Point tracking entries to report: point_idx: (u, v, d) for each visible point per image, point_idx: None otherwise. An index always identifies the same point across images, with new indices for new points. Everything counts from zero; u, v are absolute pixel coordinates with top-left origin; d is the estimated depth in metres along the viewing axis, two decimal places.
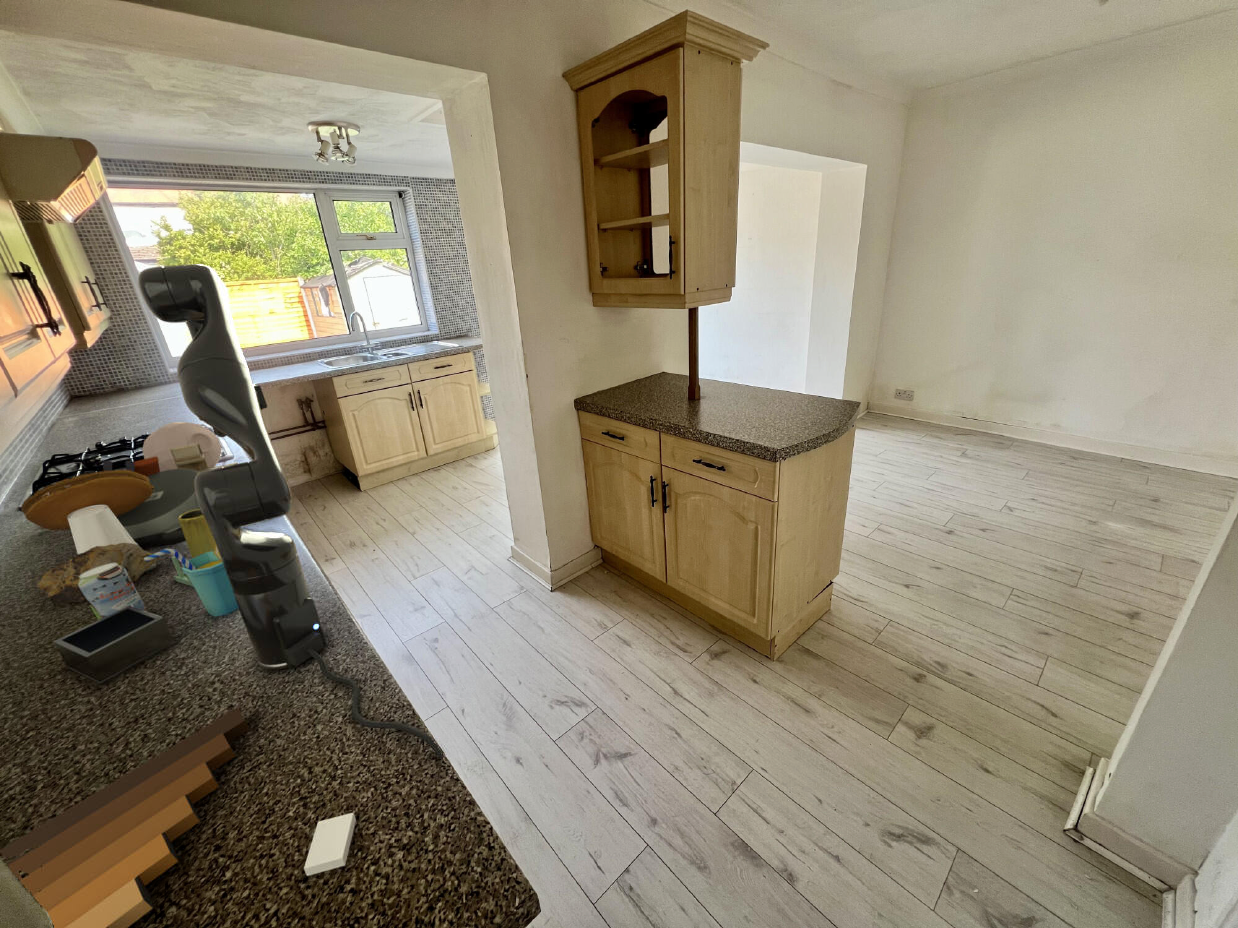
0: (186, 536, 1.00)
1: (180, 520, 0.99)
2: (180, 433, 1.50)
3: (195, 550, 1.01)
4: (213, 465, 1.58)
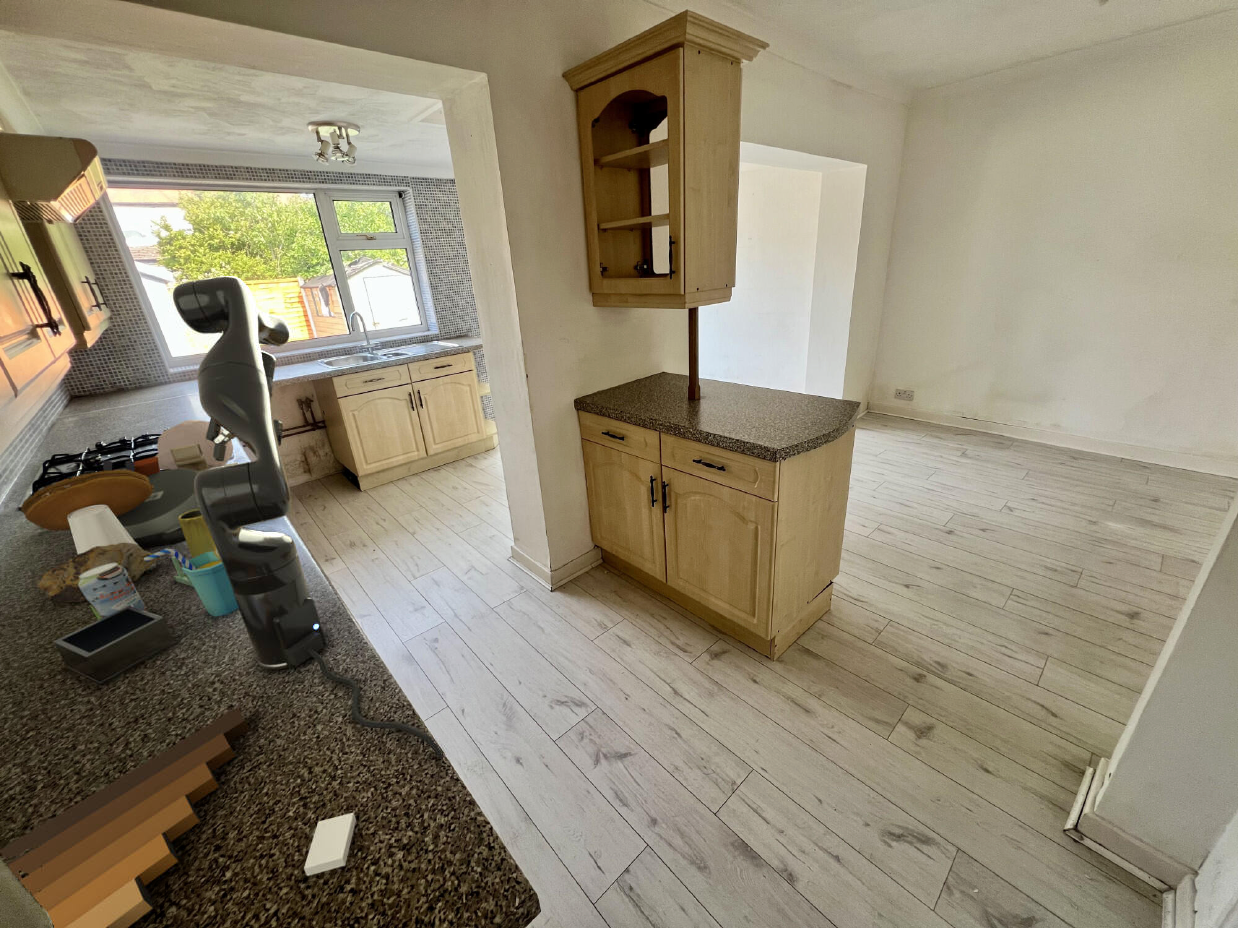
0: (186, 536, 1.00)
1: (180, 520, 0.99)
2: (201, 427, 1.56)
3: (195, 550, 1.01)
4: None
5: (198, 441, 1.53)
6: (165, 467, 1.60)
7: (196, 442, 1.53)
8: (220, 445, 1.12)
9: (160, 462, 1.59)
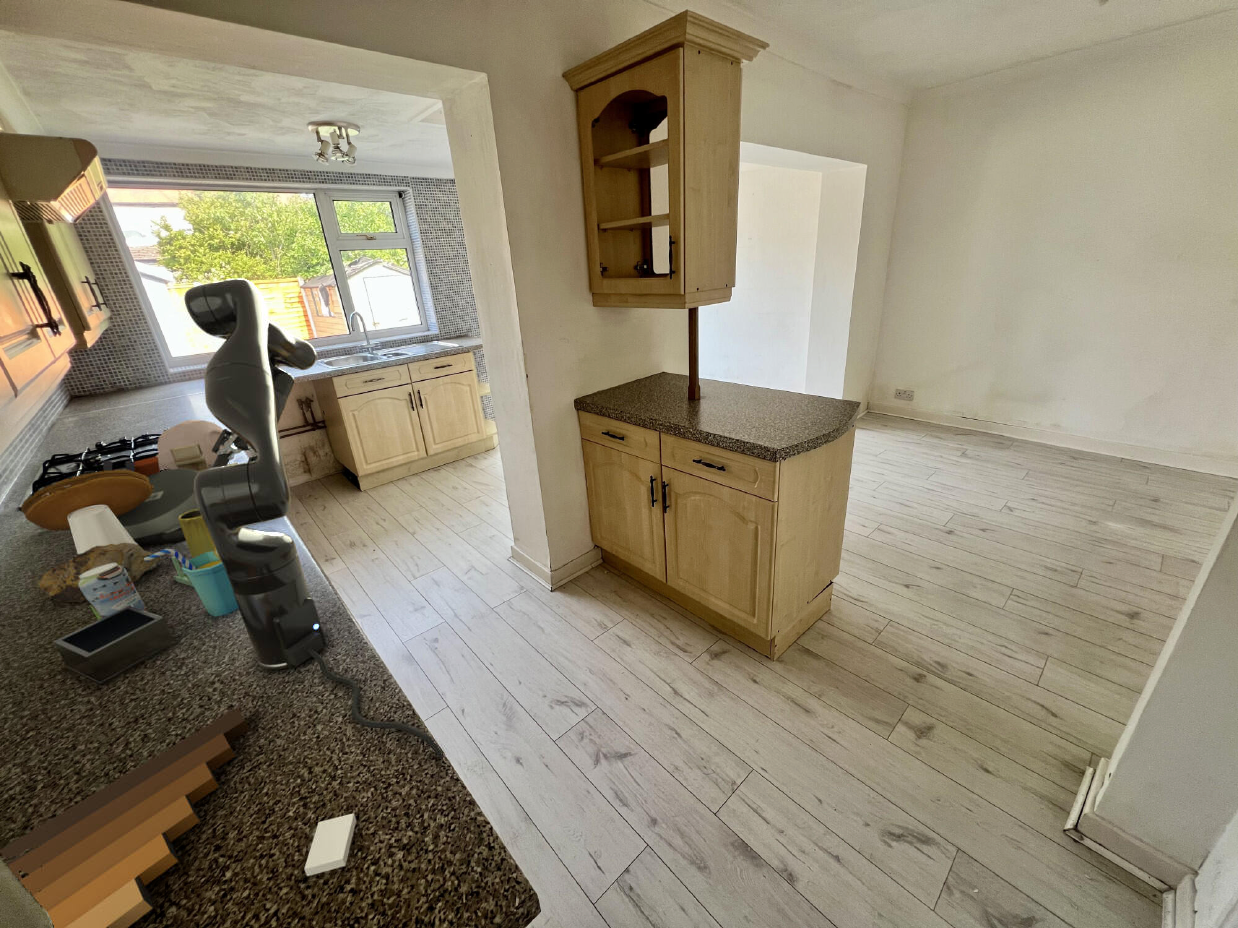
0: (186, 536, 1.00)
1: (180, 520, 0.99)
2: (202, 427, 1.56)
3: (195, 550, 1.01)
4: None
5: (198, 441, 1.53)
6: (165, 467, 1.60)
7: (196, 442, 1.53)
8: (220, 457, 1.10)
9: (160, 462, 1.59)
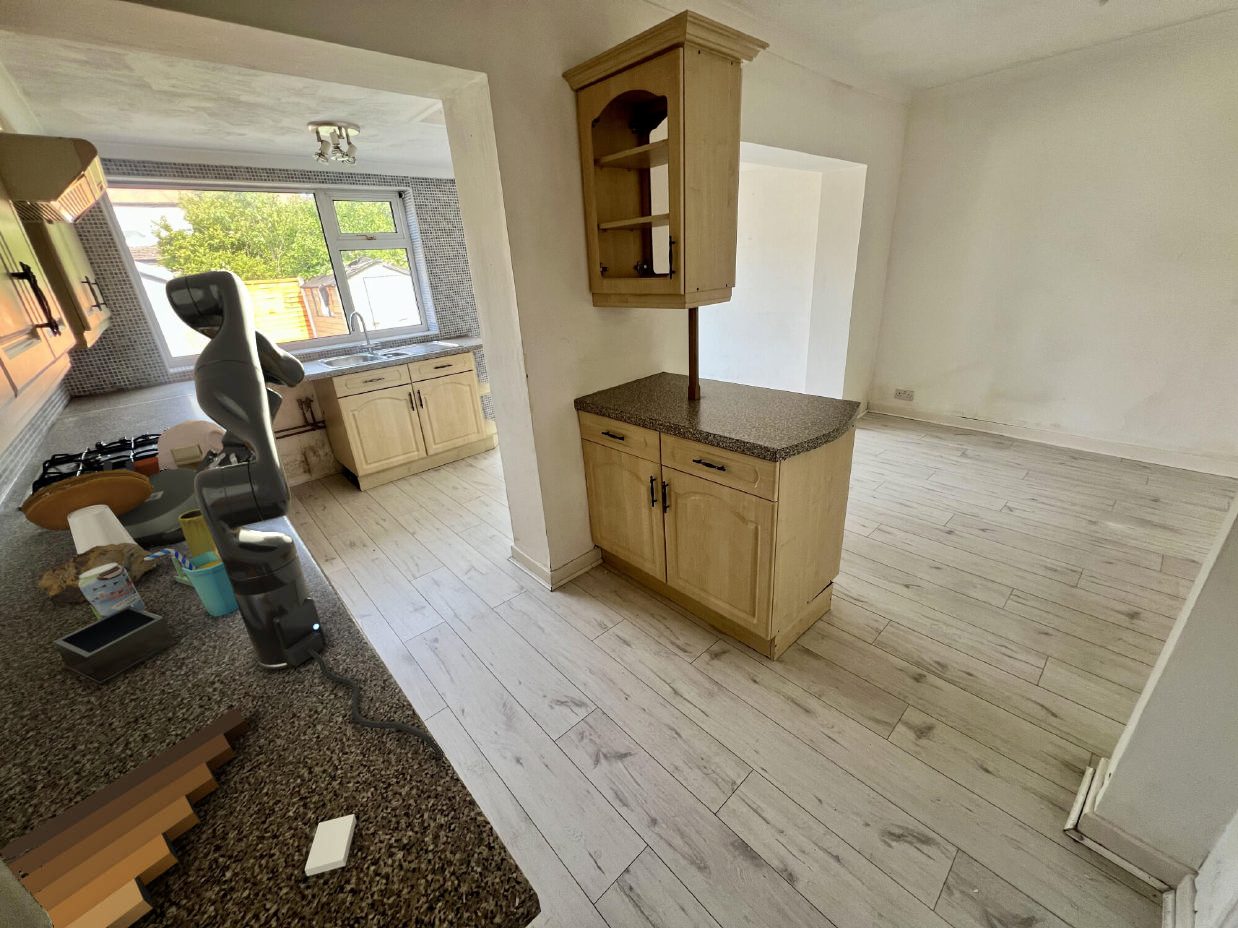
0: (186, 536, 1.00)
1: (180, 520, 0.99)
2: (202, 427, 1.56)
3: (195, 550, 1.01)
4: None
5: (198, 441, 1.53)
6: (165, 467, 1.60)
7: (196, 442, 1.53)
8: None
9: (160, 462, 1.59)
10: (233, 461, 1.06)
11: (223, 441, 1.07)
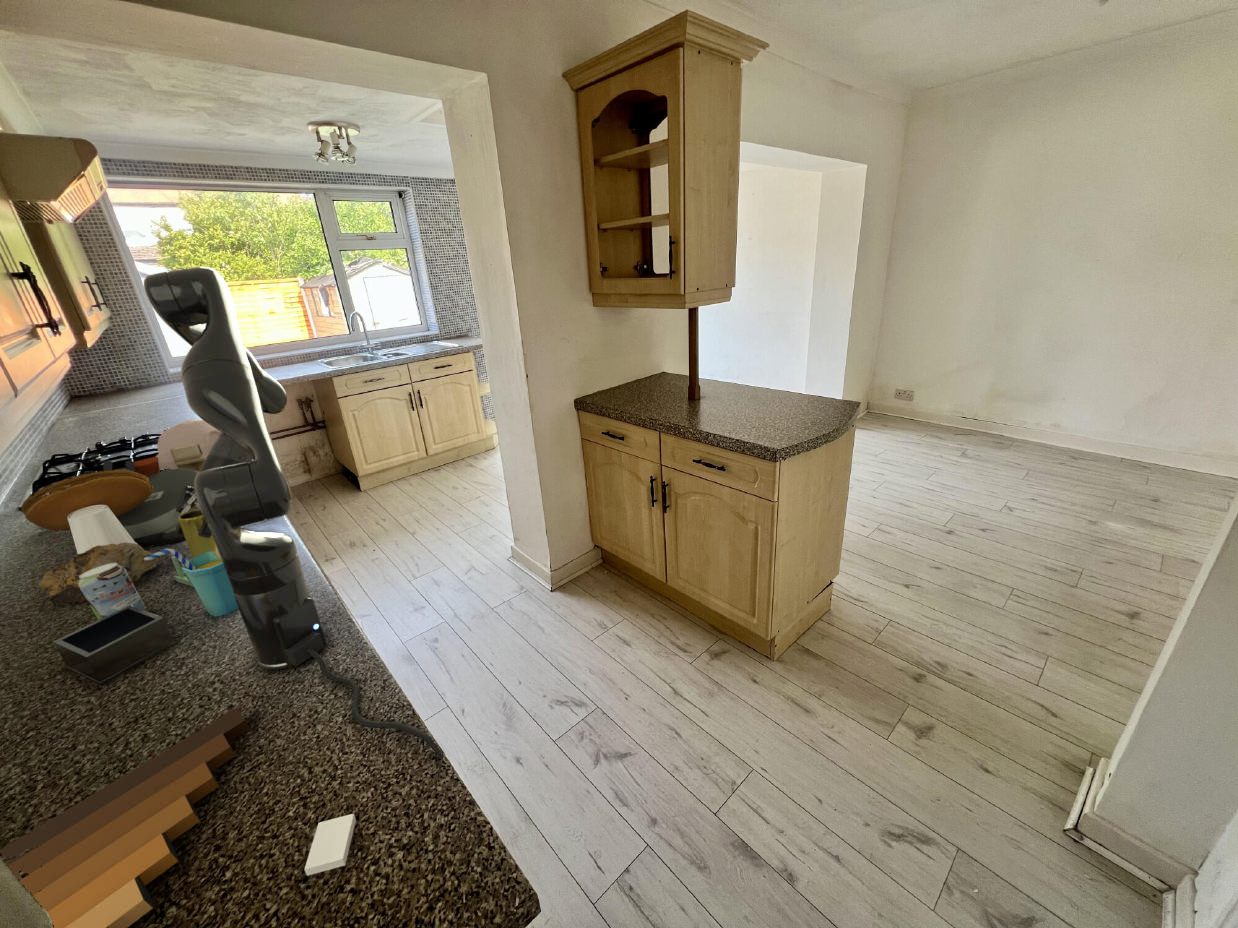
0: (186, 536, 1.00)
1: (180, 520, 0.99)
2: (202, 427, 1.56)
3: (195, 550, 1.01)
4: None
5: (198, 441, 1.53)
6: (165, 467, 1.60)
7: (196, 442, 1.53)
8: None
9: (160, 462, 1.59)
10: None
11: None
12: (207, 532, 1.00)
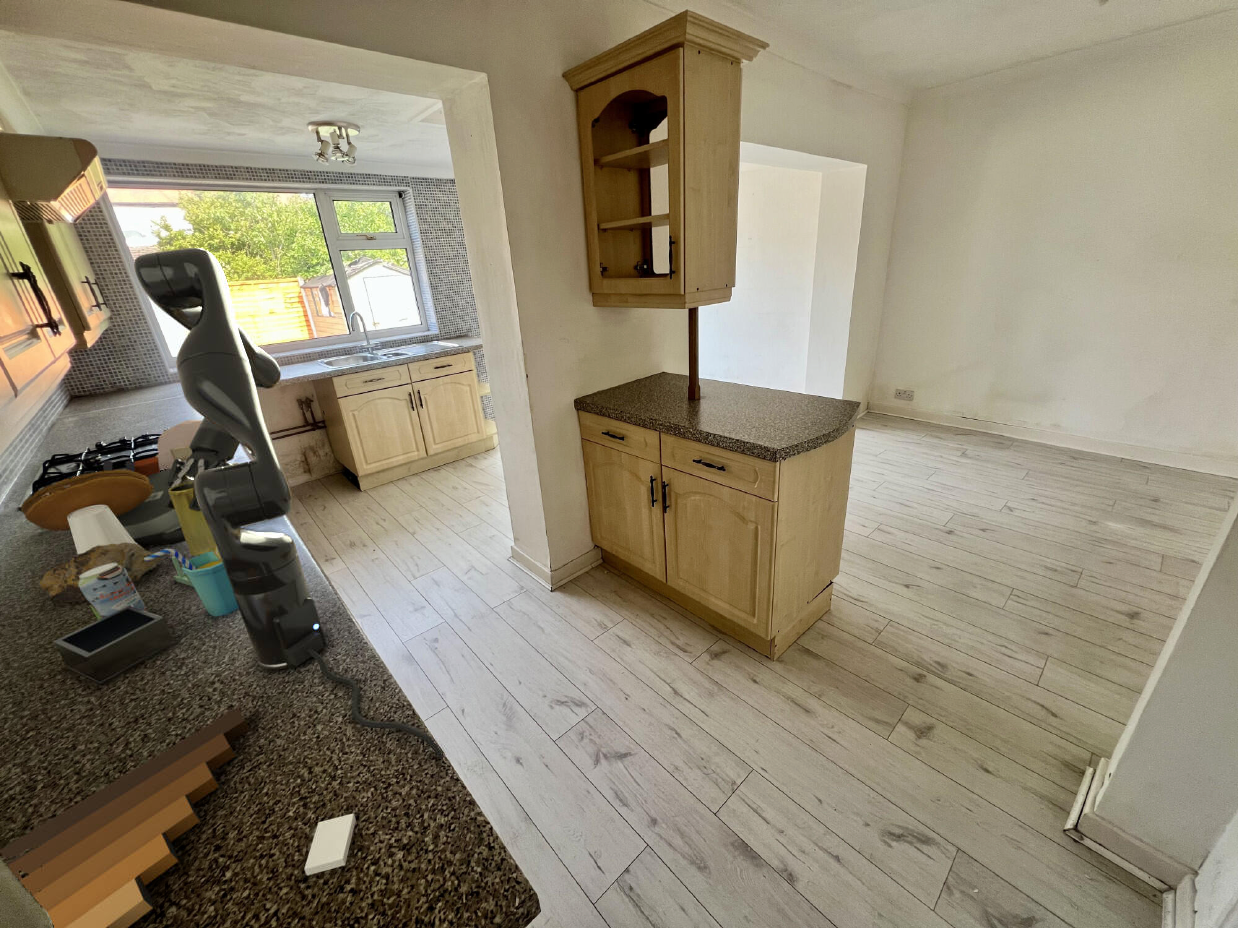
0: (177, 509, 0.98)
1: (170, 493, 0.97)
2: None
3: (186, 523, 0.99)
4: None
5: None
6: (165, 467, 1.60)
7: None
8: None
9: (160, 462, 1.59)
10: (200, 468, 1.00)
11: (191, 446, 1.01)
12: (198, 505, 0.98)
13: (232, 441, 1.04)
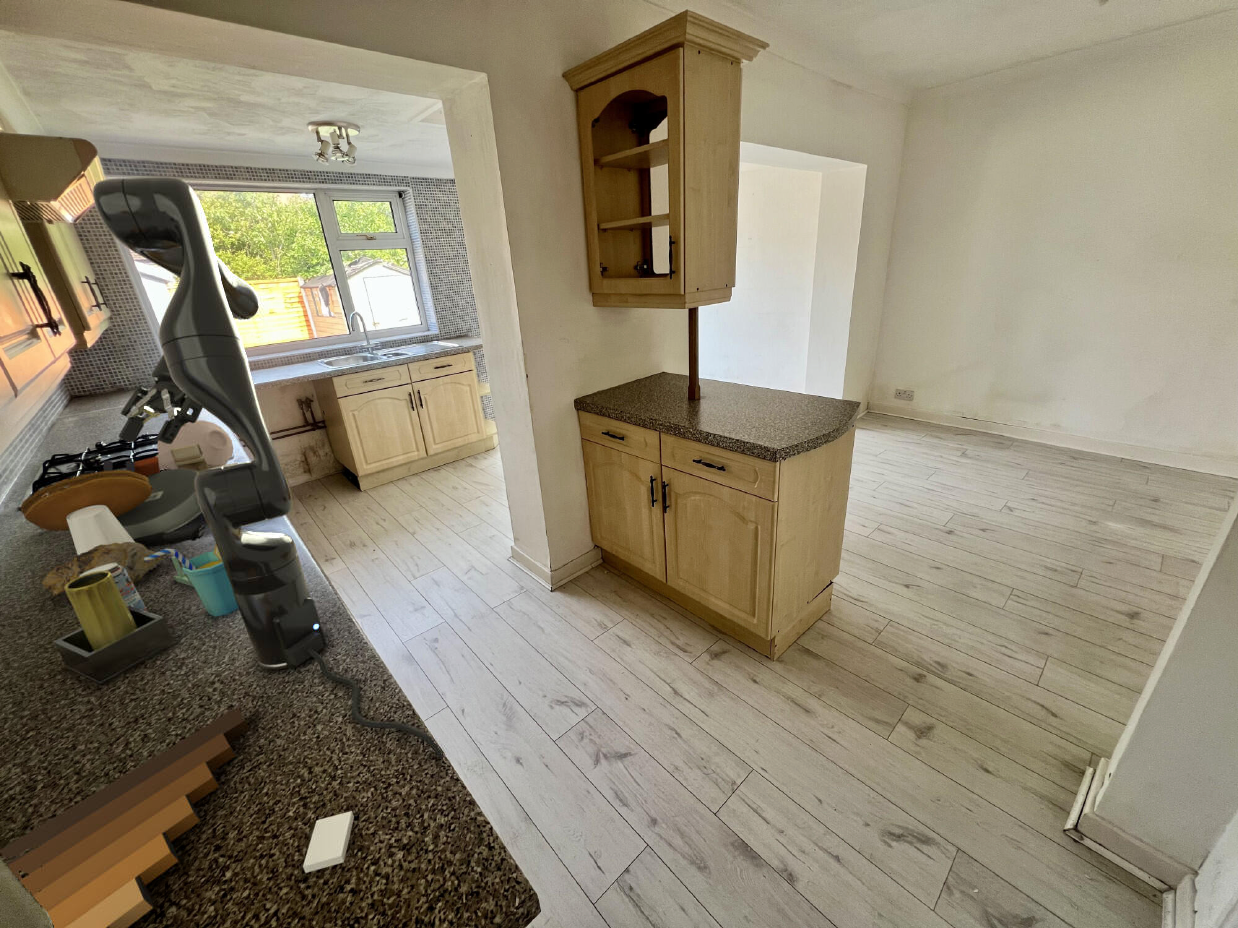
0: (76, 610, 0.76)
1: (66, 590, 0.75)
2: (202, 427, 1.56)
3: (89, 627, 0.77)
4: None
5: (198, 441, 1.53)
6: (165, 467, 1.60)
7: (196, 442, 1.53)
8: (130, 420, 0.88)
9: (160, 462, 1.59)
10: (165, 398, 0.88)
11: (153, 374, 0.88)
12: (168, 436, 0.85)
13: None
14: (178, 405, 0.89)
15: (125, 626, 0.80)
